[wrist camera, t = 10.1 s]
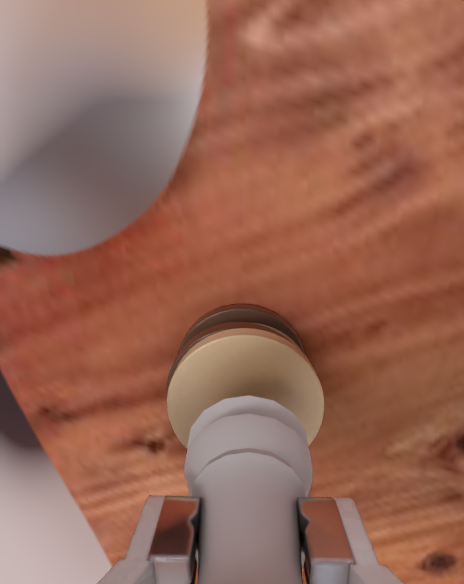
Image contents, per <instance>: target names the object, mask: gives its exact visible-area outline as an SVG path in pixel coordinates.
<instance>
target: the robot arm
mask: <svg viewBox="0 0 464 584" xmlns="http://www.w3.org/2000/svg"><path fill="white" fill-rule="evenodd" d="M297 509H298V522H299V527H300V541H301V560H302V568H303V584H404V583H403V582H402V581H401V580H400V579H399V578H398V577H397V576H396V575H395V574H394V573H393V572H392V571H391V570H390V569H389V568H388V567H387V566H386V565H380V564H379V562H378V559H377V557H376V554H375V552H374V549H373V547H372V544H371V542H370V539H369V537H368V534H367V532H366V529H365V527H364V524H363V522H362V519H361V517H360V514H359V512H358V509H357V507H356V504H355V502H354V500H353V499H352V498H343V497H333V498H332V497H297ZM200 518H201V497H185V496H152V495H149V497H148V498H147V500H146V501H145V504H144V507H143V510H142V513H141V515H140V518H139V521H138V524H137V527H136V530H135V532H134V535H133V538H132V541H131V544H130V547H129V549H128V552H127V555H126V558H125V560H119V561H118V562H117V563H116V564H115V565H114V566H113V567H112V568H111V569H110V571H109V572H108V573H107V574H106V575H105V576H104V577H103V578H102V579H101V580H100V581H99V582H98V583H97V584H197V583H198V542H199V528H200Z"/></svg>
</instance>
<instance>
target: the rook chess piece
mask: <svg viewBox="0 0 464 584" xmlns="http://www.w3.org/2000/svg"><path fill="white" fill-rule="evenodd" d="M187 449H188V450H187V455H186V460H185V466H184V470H185V479H186V482H187V486H188V489H189V493H190V496H191V497H201V518H200V528H199V542H198V583H197V584H303V579H302V560H301V541H300V527H299V522H298V509H297V497H307V496H308V493H309V490H310V487H311V484H312V478H313V469H312V463H311V457H310V451H309V447H308V441H307V434H306V430H305V429H304V428H303V426H302V425H301V423H300V422H299V420H298V419H297V417H296V416H295V415H294V413H293V412H291V411H289V410H288V409H286V408H285V407H283V406H281V405H280V404H278V403H277V402H275V401H274V400H269V399H264V398H259V397H254V396H249V395H248V396H241V397H234V398H228V399H223V400H222V401H220V402H218V403H216V404H214V405H213V406H211V407H209V408H207V409H206V410H204V411H203V412H202V414H201V415H200V416H199V418H198V419H197V420H196V422H195V423H194V424H193V426H192V427H191V430H190V435H189V440H188V445H187Z"/></svg>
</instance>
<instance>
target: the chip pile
mask: <svg viewBox="0 0 464 584" xmlns="http://www.w3.org/2000/svg"><path fill="white" fill-rule="evenodd" d="M248 395H249V396H254V397H259V398H264V399H269V400H274V401H275V402H277V403H278V404H280V405H281V406H283V407H285V408H286V409H288V410H289V411H291V412H293V413H294V415H295V416H296V417H297V419H298V420H299V422H300V423H301V425H302V426H303V428H304V429H305V430H306V434H307V441H308V446H309V445H310V444H311V443H312V441H313V439H314V438H315V436H316V435H317V433H318V430H319V428H320V426H321V422H322V419H323V413H324V396H323V390H322V387H321V384H320V381H319V379H318V377H317V374H316V372H315V370H314V368H313V366H312V364H311V363H310V361H309V360H308V358H307V357H306V354H305V350H304V347H303V345H302V343H301V341H300V339H299V337H298V335H297V334H296V332H295V331H294V329H293V328H292V327H291V326H290V324H289V323H288V322H287V321H285V320H284V319H283V318H282V317H281V316H279V315H277V314H276V313H274V312H272V311H270V310H268V309H266V308H263V307H260V306H255V305H250V304H233V305H228V306H223V307H220V308H217V309H215V310H213V311H211V312H208V313H207V314H205V315H204V316H202V317H201V318H200V319H199V320H198V321H196V322H195V323H194V325H193V326H192V327H191V328H190V330H189V331H188V333H187V334H186V336H185V338H184V340H183V342H182V344H181V346H180V349H179V352H178V356H177V358H176V360H175V362H174V364H173V366H172V368H171V370H170V373H169V377H168V381H167V410H168V416H169V420H170V423H171V426H172V428H173V430H174V432H175V434H176V436H177V437H178V439H179V440H180V442H181V443H182V444H183V445H184V446H185V448H186V449H187V445H188V440H189V435H190V430H191V427H192V426H193V424H194V423H195V422H196V420H197V419H198V418H199V416H200V415H201V414H202V412H203V411H204V410H206V409H207V408H209V407H211V406H213V405H214V404H216V403H218V402H220V401H222V400H223V399H228V398H234V397H241V396H248ZM187 450H188V449H187Z"/></svg>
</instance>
